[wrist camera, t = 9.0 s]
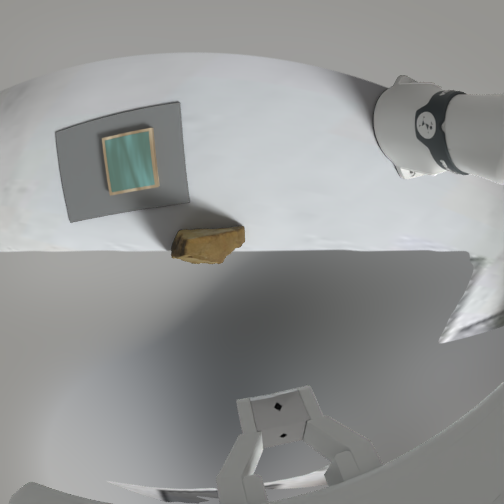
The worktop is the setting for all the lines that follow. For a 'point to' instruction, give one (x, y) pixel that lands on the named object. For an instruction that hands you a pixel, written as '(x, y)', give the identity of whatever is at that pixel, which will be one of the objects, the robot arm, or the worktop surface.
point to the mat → (94, 172)
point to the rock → (207, 244)
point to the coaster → (131, 161)
